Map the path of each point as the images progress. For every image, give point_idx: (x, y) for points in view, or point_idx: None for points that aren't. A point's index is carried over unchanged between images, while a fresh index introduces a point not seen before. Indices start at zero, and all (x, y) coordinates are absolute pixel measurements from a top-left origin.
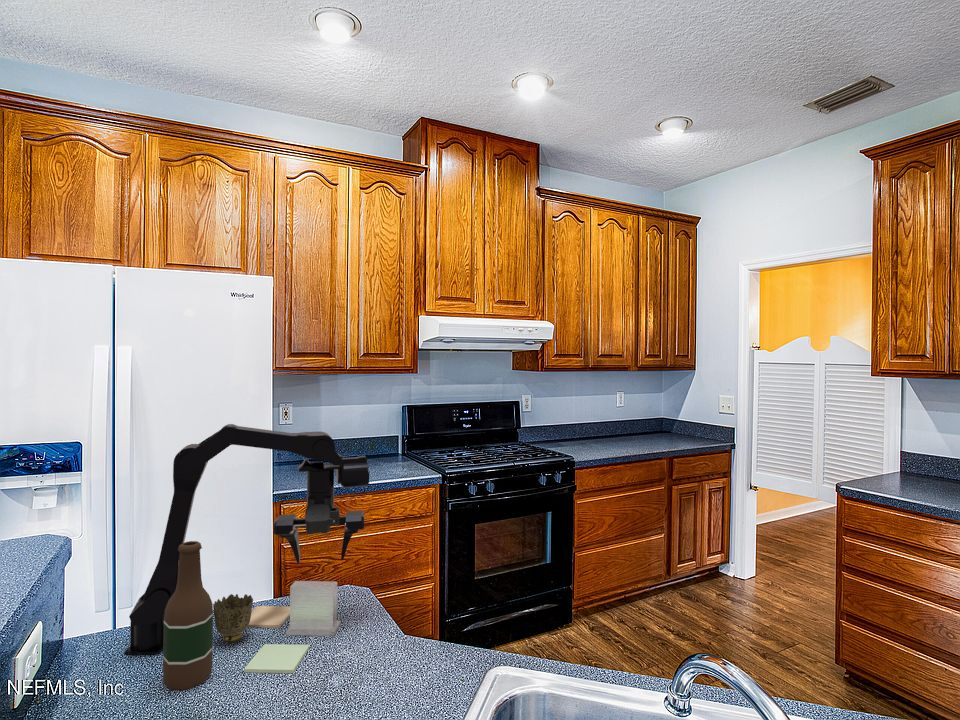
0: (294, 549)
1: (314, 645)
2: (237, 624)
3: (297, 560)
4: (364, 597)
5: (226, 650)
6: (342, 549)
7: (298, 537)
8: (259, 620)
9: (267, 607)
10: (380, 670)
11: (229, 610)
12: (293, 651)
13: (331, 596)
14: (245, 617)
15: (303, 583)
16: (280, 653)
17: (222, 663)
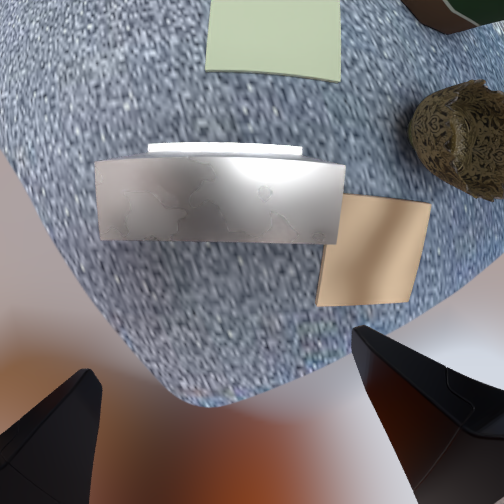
0: (435, 375)
1: (195, 86)
2: (436, 92)
3: (372, 333)
4: (150, 363)
5: (416, 86)
6: (48, 409)
7: (413, 486)
8: (391, 223)
9: (383, 297)
10: (35, 24)
11: (480, 79)
12: (242, 36)
13: (121, 157)
14: (431, 103)
15: (282, 207)
16: (276, 29)
17: (399, 31)
